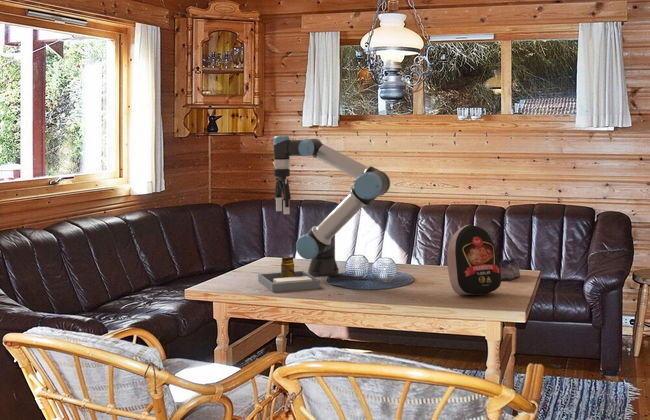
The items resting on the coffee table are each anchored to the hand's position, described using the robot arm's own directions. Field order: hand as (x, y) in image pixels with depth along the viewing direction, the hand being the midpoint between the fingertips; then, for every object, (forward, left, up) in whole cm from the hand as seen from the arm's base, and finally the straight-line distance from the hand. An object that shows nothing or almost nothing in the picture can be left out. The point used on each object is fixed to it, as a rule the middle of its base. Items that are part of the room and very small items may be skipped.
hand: (282, 212), depth 421 cm
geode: (-98, +40, -32) cm, 111 cm away
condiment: (+4, +17, -31) cm, 36 cm away
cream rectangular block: (+4, +29, -31) cm, 42 cm away
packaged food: (-66, +68, -32) cm, 100 cm away
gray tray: (+4, +22, -32) cm, 39 cm away
